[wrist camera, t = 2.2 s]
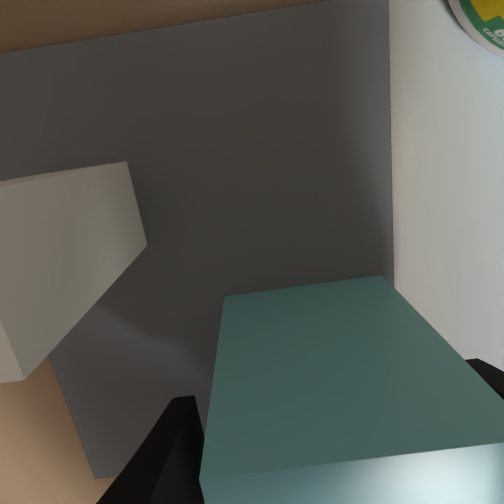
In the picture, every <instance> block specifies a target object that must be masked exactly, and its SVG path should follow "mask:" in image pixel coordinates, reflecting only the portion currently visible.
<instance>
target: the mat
mask: <svg viewBox="0 0 504 504" xmlns="http://www.w3.org/2000/svg"><path fill="white" fill-rule="evenodd" d="M124 161H127V164H128V168H129V172H130V176H131V180H132V185H133V189H134V193H135V197H136V201H137V205H138V209H139V213H140V217H141V221H142V225H143V229H144V233H145V237H146V241H147V246H146V248H145V249H144V250H143V251H142V252H141V253H140V254H139V255H138V256H137V257H136V259H135V260H134V261H133V262H132V263H131V264H130V265H129V266H128V267H127V268H126V270H125V271H124V272H123V273H122V274H121V275H120V276H119V277H118V278H117V279H116V281H115V282H114V283H113V284H112V285H111V286H110V287H109V288H108V289H107V290H106V292H105V293H104V294H103V295H102V296H101V297H100V298H99V299H98V300H97V301H96V303H95V304H94V305H93V306H92V307H91V308H90V309H89V310H88V311H87V312H86V314H85V315H84V316H83V317H82V318H81V319H80V320H79V321H78V322H77V323H76V325H75V326H74V327H73V328H72V329H71V330H70V331H69V332H68V333H67V334H66V336H65V337H64V338H63V339H62V340H61V341H60V342H59V343H58V344H57V345H56V347H55V348H54V349H53V350H52V351H51V352H50V353H49V356H50V359H51V362H52V364H53V367H54V370H55V372H56V375H57V378H58V380H59V383H60V386H61V388H62V391H63V394H64V396H65V399H66V402H67V405H68V407H69V410H70V413H71V415H72V418H73V421H74V423H75V426H76V429H77V431H78V434H79V437H80V439H81V442H82V445H83V447H84V450H85V453H86V455H87V458H88V461H89V463H90V466H91V469H92V471H93V474H94V477H95V479H100V478H108V477H116V476H118V475H119V474H120V473H121V471H122V470H123V469H124V467H125V466H126V465H127V463H128V462H129V460H130V459H131V458H132V456H133V455H134V453H135V452H136V451H137V449H138V448H139V447H140V445H141V444H142V442H143V441H144V439H145V438H146V437H147V435H148V434H149V432H150V431H151V429H152V428H153V426H154V425H155V423H156V422H157V420H158V419H159V417H160V416H161V414H162V413H163V411H164V410H165V408H166V407H167V405H168V404H169V402H170V401H171V400H172V399H173V398H175V397H183V396H191V395H195V399H196V403H197V407H198V412H199V416H200V420H201V424H202V428H203V433H204V437H205V433H206V426H207V419H208V411H209V404H210V397H211V390H212V383H213V375H214V368H215V361H216V354H217V346H218V339H219V332H220V325H221V318H222V310H223V303H224V296H232V295H239V294H246V293H253V292H261V291H268V290H275V289H282V288H290V287H297V286H304V285H312V284H319V283H326V282H333V281H341V280H348V279H355V278H363V277H370V276H377V275H382V276H383V277H384V278H385V279H386V280H387V281H388V282H389V283H390V284H391V285H392V286H393V287H394V257H393V208H392V159H391V110H390V61H389V12H388V0H327V1H321V2H314V3H308V4H302V5H296V6H290V7H283V8H277V9H271V10H265V11H259V12H253V13H246V14H240V15H234V16H228V17H222V18H215V19H209V20H203V21H197V22H191V23H184V24H178V25H172V26H166V27H160V28H154V29H147V30H141V31H135V32H129V33H123V34H116V35H110V36H104V37H98V38H92V39H86V40H79V41H73V42H67V43H61V44H55V45H48V46H42V47H36V48H30V49H24V50H17V51H11V52H5V53H0V181H6V180H11V179H17V178H22V177H27V176H33V175H38V174H45V173H51V172H58V171H65V170H71V169H78V168H84V167H91V166H98V165H104V164H111V163H118V162H124Z"/></svg>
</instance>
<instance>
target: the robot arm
mask: <svg viewBox="0 0 504 504" xmlns="http://www.w3.org/2000/svg"><path fill="white" fill-rule="evenodd" d="M465 361H466V362H467V363H468V364H469V365H470V366H471V367H472V368H473V369H474V370H475V371H476V372H477V373H478V374H479V375H480V376H481V377H482V379H483V380H484V381H485V382H486V383H487V384H488V385H489V386H490V387H491V388H492V389H493V390H494V391H495V392H496V393H497V394H498V395H499V396H500V397H501V398H502V399H503V400H504V372H503V371H501V370H500V369H498V368H496V367H494V366H492V365H490V364H488V363H486V362H484V361H482V360H480V359H478V358H476V359H469V360H465ZM204 440H205V437H204V433H203V428H202V424H201V420H200V416H199V412H198V407H197V403H196V399H195V395H191V396H183V397H175V398H173V399H172V400H171V401H170V402H169V404H168V405H167V407H166V408H165V410H164V411H163V413H162V414H161V416H160V417H159V419H158V420H157V422H156V423H155V425H154V426H153V428H152V429H151V431H150V432H149V434H148V435H147V437H146V438H145V439H144V441H143V442H142V444H141V445H140V447H139V448H138V449H137V451H136V452H135V453H134V455H133V456H132V458H131V459H130V460H129V462H128V463H127V465H126V466H125V467H124V469H123V470H122V471H121V473H120V474H119V475H118V477H117V478H116V479H115V480H114V482H113V483H112V484H111V485H110V487H109V488H108V489H107V491H106V492H105V493H104V494H103V496H102V497H101V498H100V500H99V501H98V502H97V503H96V504H204V497H203V493H202V489H201V485H200V481H199V476H200V469H201V462H202V455H203V448H204Z"/></svg>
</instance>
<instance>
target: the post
mask: <svg viewBox="0 0 504 504" xmlns="http://www.w3.org/2000/svg"><path fill="white" fill-rule="evenodd" d="M146 246H147V241H146V237H145V233H144V229H143V225H142V221H141V217H140V213H139V209H138V205H137V201H136V197H135V193H134V189H133V185H132V180H131V176H130V172H129V168H128V164H127V161H124V162H118V163H111V164H104V165H98V166H91V167H84V168H78V169H71V170H65V171H58V172H51V173H45V174H38V175H33V176H27V177H22V178H17V179H11V180H6V181H0V383H7V382H15V381H22V380H26V378H27V377H28V376H29V375H30V374H31V373H32V372H33V371H34V370H35V369H36V367H37V366H38V365H39V364H40V363H41V362H42V361H43V360H44V359H45V358H46V356H47V355H48V354H49V353H50V352H51V351H52V350H53V349H54V348H55V347H56V345H57V344H58V343H59V342H60V341H61V340H62V339H63V338H64V337H65V336H66V334H67V333H68V332H69V331H70V330H71V329H72V328H73V327H74V326H75V325H76V323H77V322H78V321H79V320H80V319H81V318H82V317H83V316H84V315H85V314H86V312H87V311H88V310H89V309H90V308H91V307H92V306H93V305H94V304H95V303H96V301H97V300H98V299H99V298H100V297H101V296H102V295H103V294H104V293H105V292H106V290H107V289H108V288H109V287H110V286H111V285H112V284H113V283H114V282H115V281H116V279H117V278H118V277H119V276H120V275H121V274H122V273H123V272H124V271H125V270H126V268H127V267H128V266H129V265H130V264H131V263H132V262H133V261H134V260H135V259H136V257H137V256H138V255H139V254H140V253H141V252H142V251H143V250H144V249H145V248H146Z"/></svg>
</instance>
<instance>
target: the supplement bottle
mask: <svg viewBox="0 0 504 504" xmlns="http://www.w3.org/2000/svg"><path fill="white" fill-rule="evenodd" d="M448 1H449V4H450V7H451V9H452V11H453V13H454V15H455V17H456V18H457V20H458V22H459V23H460V25H461V26H462V27H463V29H464V30H465V31H466V32H467V33H468V34H469V35H470V36H471V37H472V38H473V39H474V40H475V41H476V42H477V43H479V44H480V45H481V46H483V47H484V48H485V49H487V50H488V51H490V52H492V53H494V54H497V55H500V56H504V0H448Z"/></svg>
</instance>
